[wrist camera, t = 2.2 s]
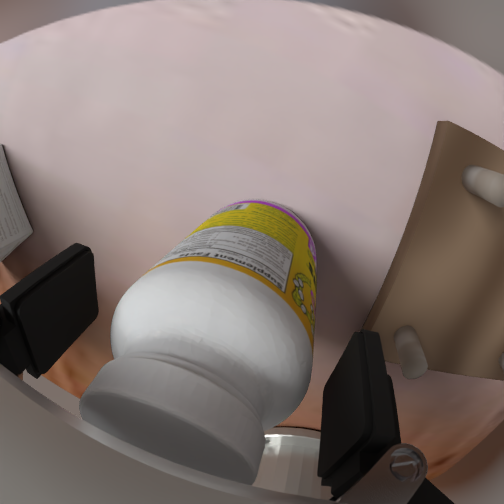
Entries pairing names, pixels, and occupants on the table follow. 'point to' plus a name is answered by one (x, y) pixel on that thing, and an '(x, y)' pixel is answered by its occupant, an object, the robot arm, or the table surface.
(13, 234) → the supplement box
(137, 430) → the supplement bottle
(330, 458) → the robot arm
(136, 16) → the table surface
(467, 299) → the board
